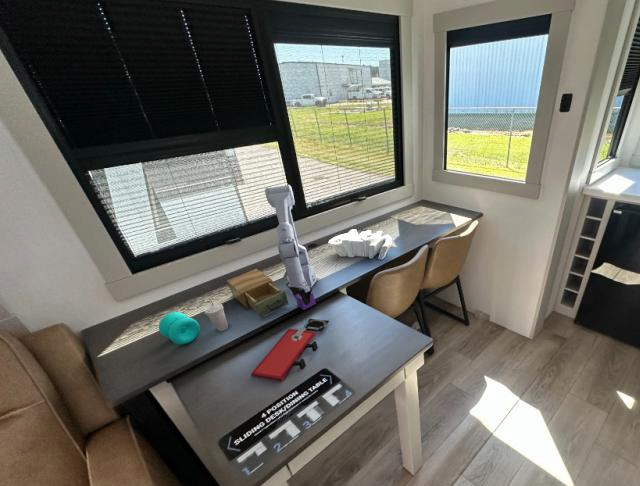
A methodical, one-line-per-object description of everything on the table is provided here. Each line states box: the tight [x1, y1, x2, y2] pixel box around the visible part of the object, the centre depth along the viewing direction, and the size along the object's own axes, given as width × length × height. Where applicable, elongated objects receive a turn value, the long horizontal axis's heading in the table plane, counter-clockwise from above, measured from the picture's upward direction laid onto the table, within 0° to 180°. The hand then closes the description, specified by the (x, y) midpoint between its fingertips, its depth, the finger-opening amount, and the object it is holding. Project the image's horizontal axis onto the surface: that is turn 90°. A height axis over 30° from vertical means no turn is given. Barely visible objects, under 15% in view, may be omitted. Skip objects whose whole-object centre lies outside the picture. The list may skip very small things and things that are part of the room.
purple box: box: [294, 291, 317, 311], centre depth 130 cm, size 4×6×6 cm
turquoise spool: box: [158, 311, 201, 345], centre depth 115 cm, size 10×10×10 cm
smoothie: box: [203, 296, 229, 332], centre depth 118 cm, size 6×6×14 cm
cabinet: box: [226, 268, 275, 310], centre depth 138 cm, size 16×14×8 cm
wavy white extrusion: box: [328, 228, 393, 260], centre depth 167 cm, size 35×16×11 cm, turn 71°
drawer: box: [244, 283, 290, 319], centre depth 129 cm, size 19×12×6 cm, turn 45°
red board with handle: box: [250, 318, 330, 382], centre depth 109 cm, size 30×3×15 cm
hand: (302, 300), depth 130 cm, fingers open, 7 cm apart
